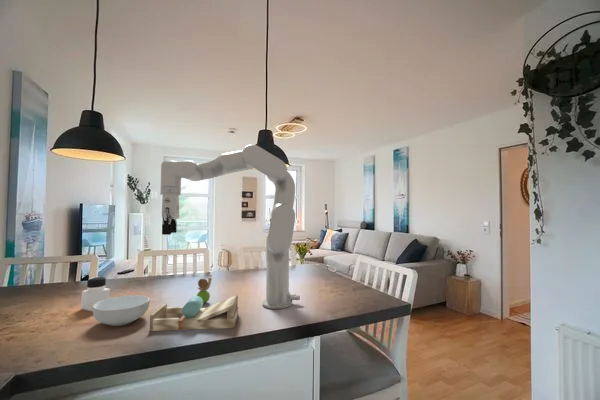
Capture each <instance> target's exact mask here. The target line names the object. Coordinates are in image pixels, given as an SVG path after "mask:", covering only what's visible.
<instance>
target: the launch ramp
mask: <svg viewBox="0 0 600 400" xmlns="http://www.w3.org/2000/svg"><path fill="white" fill-rule="evenodd" d="M238 299H239V295H238V294H236V295H234V296H231V297H229V298H226V299H224V300H221V301H219V302H216V303H214V304H212V305H209V306H207V307H201V309H200V310H199V311H198V313H197V314H196V315H195V316H194V317H192V318H187V317H185V316H184V315H183V313H182V309H183V307H184V306H178V307H177V306H175V307H174V306H172V307H170V306H169V307H167V306H168V305H167V304H168V303H163V304H161V306H159V307H158V308H157V309H156V310H155V311H153V312H152V313H151V314H150V315H149V331H151V332H153V331H155V332H156V331H158V332H159V331H183V330H184V331H185V330H187V331H188V330H190V331H191V330H211V329H214V330H215V329H217V330H218V329H235V326H236V323H237V319H238V317H239V306H238V301H239V300H238Z"/></svg>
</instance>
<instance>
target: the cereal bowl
mask: <svg viewBox="0 0 600 400" xmlns="http://www.w3.org/2000/svg"><path fill="white" fill-rule="evenodd" d="M150 301H151V299H150V298H149V297H148V296H146V295H140V294H138V295H137V294H129V295H127V294H125V295H120V296H119V295H118V296H114V297H110V298H108V299H105V300H102V301H99V302H97V303H96V304H94V306H93V311H92V314H93V317H94V319H95V320H96V321H97V322H98V323H101V324H104V325H107V326H112V327H116V326H117V327H121V326H125V325H129V324H131V323H133V322H135V321H136V320H138V319H139V318H141V317H143V316H144V315H145V314H146V313H147V311H148V310H149V306H150V303H151V302H150Z"/></svg>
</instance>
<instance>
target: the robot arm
mask: <svg viewBox="0 0 600 400" xmlns="http://www.w3.org/2000/svg"><path fill="white" fill-rule="evenodd" d="M254 169H255V170H257V171H258V172H260V173H262V174H263V175H264V176H266V177H267V179H268V180H269V181H270V182H272V183H273V184H274V187H275V190H274V191H275V192H274V200H273V205H272V210H271V212H270V221H269V222H270V223H269V228H268V234H267V236H266V273H265V275H266V280H265V281H266V283H265V284H266V287H265V292H266V293H265V295H266V297H265V299H263V300H262V306H263V308H264V307H265V308H267V309H272V310H280V309H288V308H289V307H292V306H293V301H300V299H301V297H300V295H299V294H296V293H295V294H292V293H290V248H291V246H292V241H293V235H294V228H295V221H296V212H295V210H294V203H295V196H296V195H295V193H296V184H295V180H294V179H293V177H292V175H291V173H290V172H289V171H288V167H287V164H286V163H285V161H283V160H282V159H281V158H279V157H277V156H275V155H274V154H272V153H270V152H269V151H267V150H265V149H264V148H262V147H261V146H259V145H256V144H248V145H246V146H244V147H243V148H242V150H236V151H231V152H230V151H229V152H224V153H221V154H219V155H218V157H216V158H215V159H212V160H208V161H205V162H201V163H197V162H195V161H193V160H190V159H189V160H185V159H184V160H177V161H176V160H163V161H162V162H161V165H160V190H159V191H160V195H161V196H162V198H161V199H162V201H161V218H162V221H161V222H162V223H161V235H164V236H165V235H166V236H167V235H169V236H170V235H171V234H173V233H175V234H176V233H177V231H178V230H177V227H178V225H177V223H178V222H177V220H178V219H179V218H180V197H179V196H181V195H182V194H181V192H182V179H186V180H189V181H192V182H198V181H199V182H200V181H203V180H209V179H214V178H218V177H221V176H224V175H228V174H229V175H230V174H232V173H233V174H234V173H238V172H244V171H248V170H254Z"/></svg>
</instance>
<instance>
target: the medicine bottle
mask: <svg viewBox="0 0 600 400" xmlns="http://www.w3.org/2000/svg"><path fill="white" fill-rule="evenodd" d="M106 282H107V278H106V277H104V276H94V277H91V278H89V279H87V285H86V286H87V288H86V289H85V290H82V291H81V299H80V301H81V303H80V305H81V306H80V310H83V309H84V311H88V312H92V313H93V306H94V304H96V303H97V302H99V301H102V300H105V299H108V298H111V291H112V290H111V289H110V288H107V287H106V286H107V284H106Z"/></svg>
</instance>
